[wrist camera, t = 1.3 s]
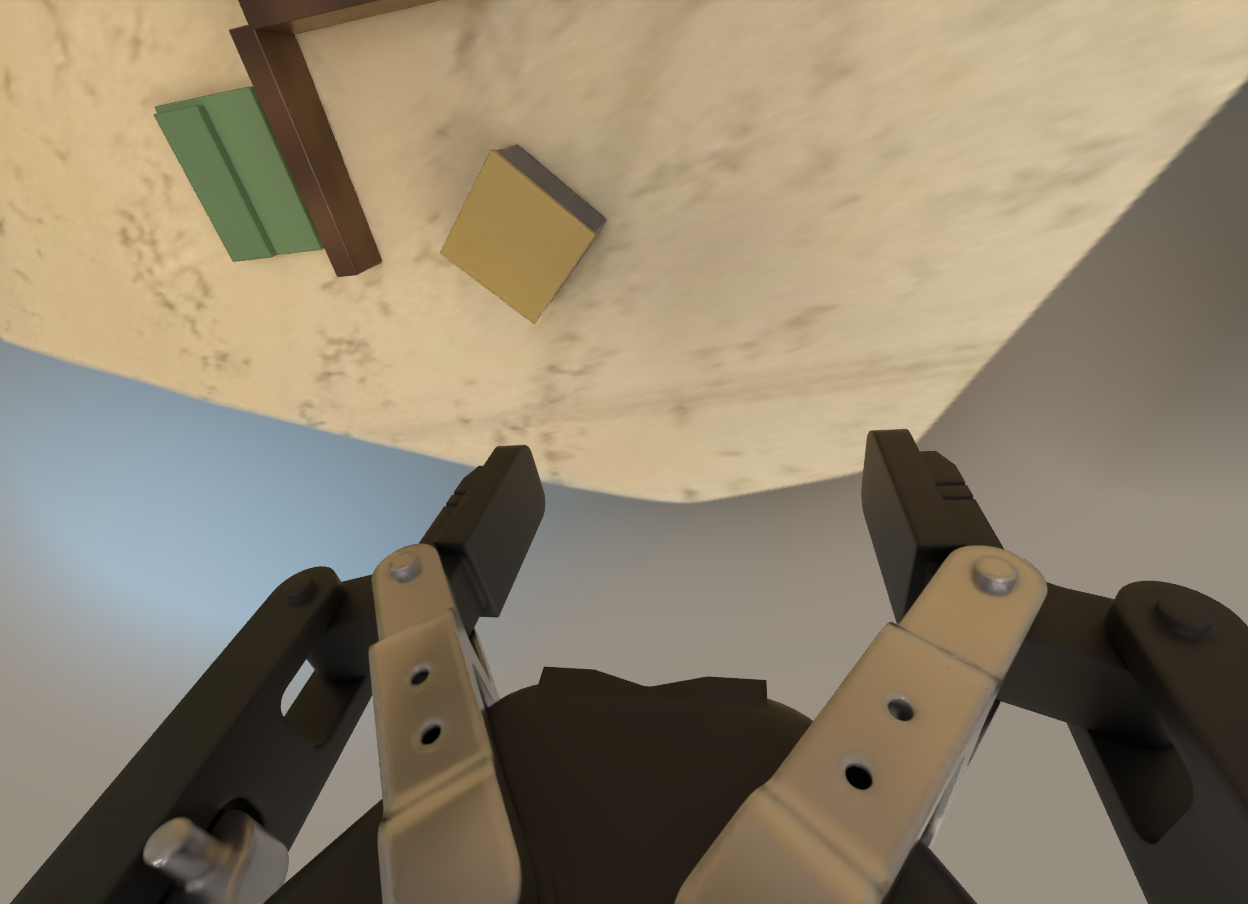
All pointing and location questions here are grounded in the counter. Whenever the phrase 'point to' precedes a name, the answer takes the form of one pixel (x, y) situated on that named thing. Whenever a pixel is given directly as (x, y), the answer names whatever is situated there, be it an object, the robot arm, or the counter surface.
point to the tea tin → (521, 231)
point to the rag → (239, 174)
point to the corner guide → (309, 115)
